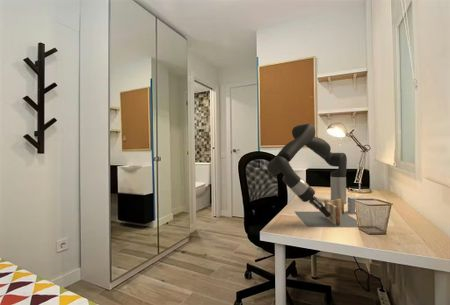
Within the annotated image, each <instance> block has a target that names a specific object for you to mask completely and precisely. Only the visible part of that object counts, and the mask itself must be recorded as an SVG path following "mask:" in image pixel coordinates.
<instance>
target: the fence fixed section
mask: <svg viewBox="0 0 450 305" xmlns="http://www.w3.org/2000/svg"><path fill="white" fill-rule="evenodd" d="M323 201H324V205H323V206H324V207H325V208H326V202H329V203H331V204H333V205H335V206H336V207H340V214H344V213H345V204H344V198H340V199H337V200H331V199H330V200H328V199H324V200H323ZM325 217H326V216H325Z"/></svg>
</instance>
